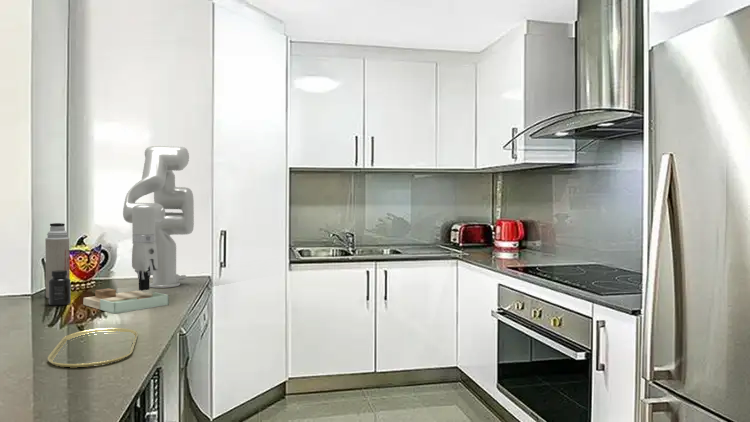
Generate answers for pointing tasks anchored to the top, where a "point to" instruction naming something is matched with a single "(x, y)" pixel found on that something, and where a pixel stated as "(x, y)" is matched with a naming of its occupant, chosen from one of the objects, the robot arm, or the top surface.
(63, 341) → the serving platter
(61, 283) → the supplement bottle
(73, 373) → the top surface
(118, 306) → the tray
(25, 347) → the top surface
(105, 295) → the walnut tile
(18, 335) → the top surface
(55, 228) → the thermos bottle
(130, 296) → the maple board
